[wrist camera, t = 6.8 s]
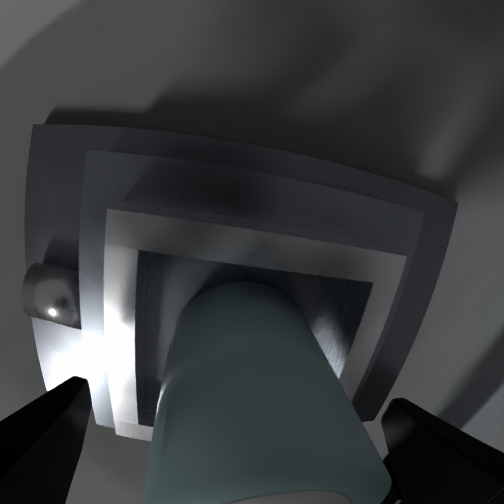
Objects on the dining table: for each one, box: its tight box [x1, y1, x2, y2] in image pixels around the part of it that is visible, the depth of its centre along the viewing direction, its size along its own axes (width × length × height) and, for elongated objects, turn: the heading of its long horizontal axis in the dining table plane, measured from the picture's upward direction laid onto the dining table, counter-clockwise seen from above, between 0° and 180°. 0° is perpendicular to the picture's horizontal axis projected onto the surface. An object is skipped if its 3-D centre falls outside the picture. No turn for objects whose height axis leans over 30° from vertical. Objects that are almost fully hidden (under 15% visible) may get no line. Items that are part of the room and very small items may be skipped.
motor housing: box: [21, 124, 458, 441], centre depth 11 cm, size 20×14×4 cm
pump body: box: [143, 282, 392, 504], centre depth 7 cm, size 5×5×7 cm
